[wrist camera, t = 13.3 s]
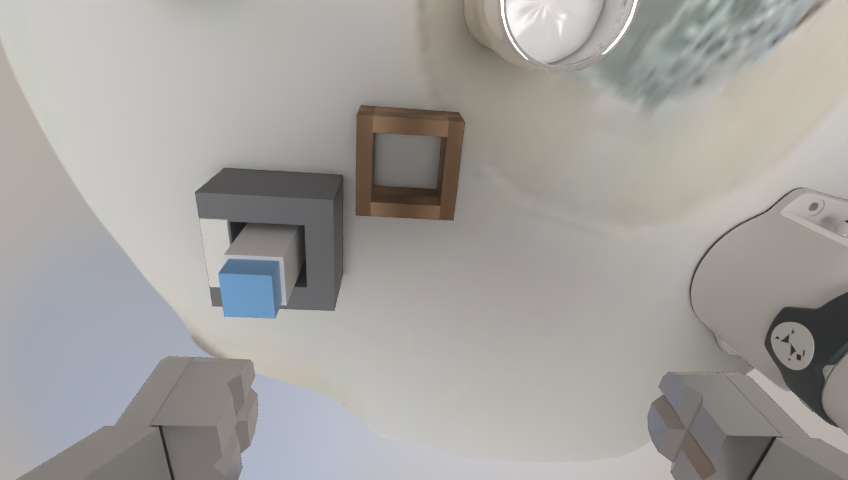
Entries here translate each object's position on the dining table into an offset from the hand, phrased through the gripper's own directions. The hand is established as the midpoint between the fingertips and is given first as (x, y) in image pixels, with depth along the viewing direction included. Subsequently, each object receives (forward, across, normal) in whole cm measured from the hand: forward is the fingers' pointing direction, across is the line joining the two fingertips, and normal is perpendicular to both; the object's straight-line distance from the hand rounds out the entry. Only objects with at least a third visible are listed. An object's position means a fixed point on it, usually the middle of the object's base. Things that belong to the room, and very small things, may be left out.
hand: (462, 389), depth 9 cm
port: (+31, -11, -11) cm, 35 cm away
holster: (+31, 0, -4) cm, 31 cm away
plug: (+31, -11, -11) cm, 35 cm away
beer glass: (+31, +6, +8) cm, 33 cm away
